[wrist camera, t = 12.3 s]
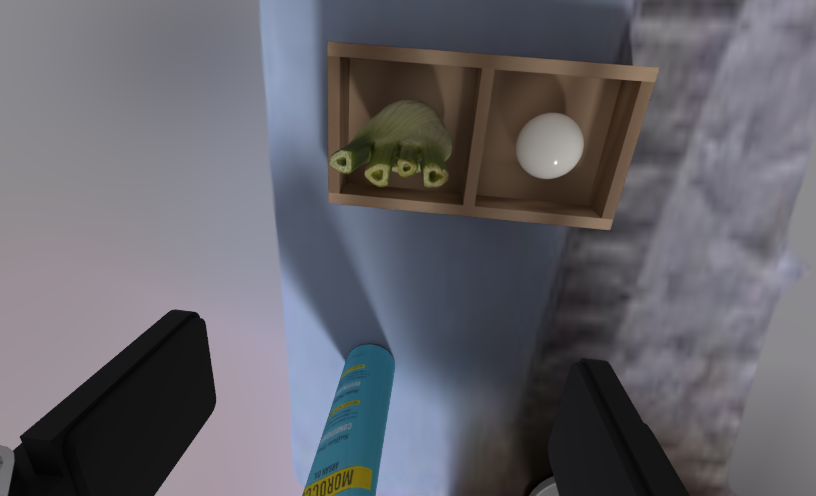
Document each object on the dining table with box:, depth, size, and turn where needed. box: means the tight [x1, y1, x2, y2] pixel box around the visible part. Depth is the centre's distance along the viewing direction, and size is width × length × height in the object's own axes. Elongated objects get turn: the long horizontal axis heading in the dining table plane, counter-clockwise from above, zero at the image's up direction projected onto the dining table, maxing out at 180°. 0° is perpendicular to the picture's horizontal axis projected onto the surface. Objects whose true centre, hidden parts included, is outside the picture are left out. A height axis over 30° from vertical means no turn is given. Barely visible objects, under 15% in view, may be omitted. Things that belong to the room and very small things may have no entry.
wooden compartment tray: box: [327, 42, 659, 230], centre depth 28 cm, size 20×11×4 cm, turn 86°
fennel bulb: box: [329, 99, 452, 188], centre depth 24 cm, size 6×5×12 cm
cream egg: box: [516, 113, 584, 179], centre depth 27 cm, size 4×4×4 cm
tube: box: [302, 345, 395, 496], centre depth 31 cm, size 7×5×19 cm, turn 134°
